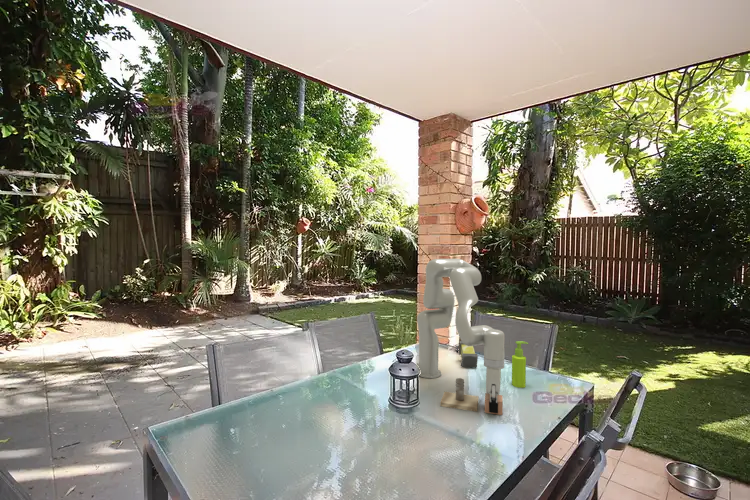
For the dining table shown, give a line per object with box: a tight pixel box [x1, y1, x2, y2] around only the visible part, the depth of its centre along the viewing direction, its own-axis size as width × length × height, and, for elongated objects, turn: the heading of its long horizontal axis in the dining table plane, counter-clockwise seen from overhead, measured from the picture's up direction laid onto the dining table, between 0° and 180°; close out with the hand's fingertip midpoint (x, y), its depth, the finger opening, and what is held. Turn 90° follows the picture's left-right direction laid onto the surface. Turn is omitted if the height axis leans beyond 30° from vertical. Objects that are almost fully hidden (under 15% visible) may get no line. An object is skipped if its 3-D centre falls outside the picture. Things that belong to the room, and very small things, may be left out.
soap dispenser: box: [511, 340, 529, 389], centre depth 162 cm, size 6×7×20 cm
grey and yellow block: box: [455, 337, 479, 368], centre depth 200 cm, size 8×17×30 cm
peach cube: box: [484, 392, 504, 416], centre depth 137 cm, size 6×6×5 cm
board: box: [439, 377, 479, 412], centre depth 144 cm, size 14×11×10 cm
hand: (493, 407), depth 137 cm, fingers closed on peach cube, 6 cm apart
